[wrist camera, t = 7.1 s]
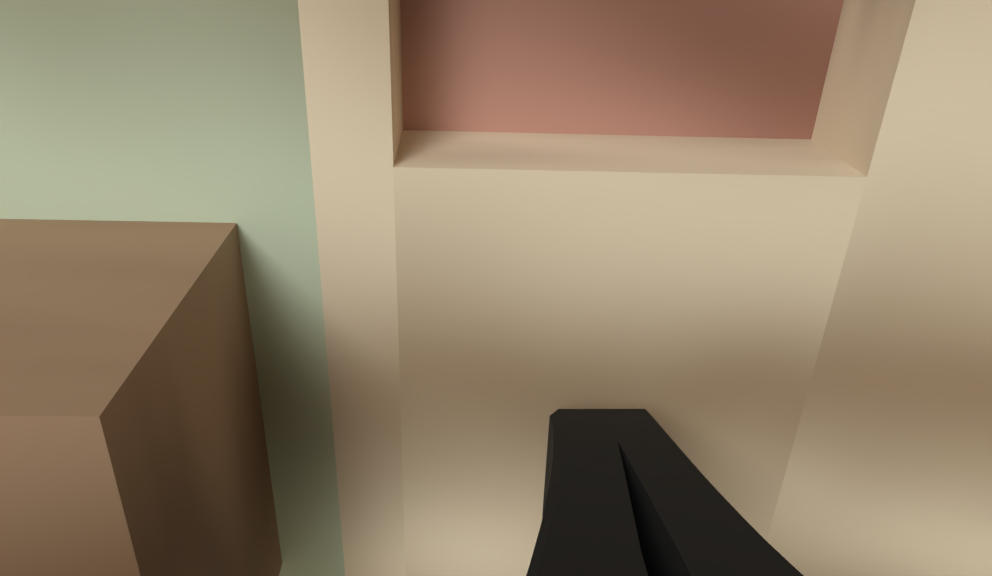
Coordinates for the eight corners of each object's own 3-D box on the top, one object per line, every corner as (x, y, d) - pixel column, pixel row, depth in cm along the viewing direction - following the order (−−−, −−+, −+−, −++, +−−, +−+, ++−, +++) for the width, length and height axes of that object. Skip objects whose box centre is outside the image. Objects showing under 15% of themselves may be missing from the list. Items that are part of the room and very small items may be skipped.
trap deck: (1049, 679, 18) (1115, 766, 16) (9, 695, 16) (-47, 791, 15) (1585, -238, 9) (1846, -271, 8) (-427, -345, 8) (-673, -413, 6)
